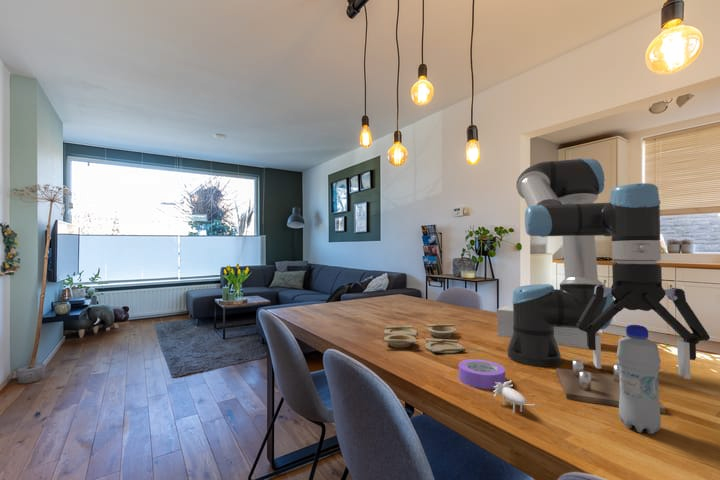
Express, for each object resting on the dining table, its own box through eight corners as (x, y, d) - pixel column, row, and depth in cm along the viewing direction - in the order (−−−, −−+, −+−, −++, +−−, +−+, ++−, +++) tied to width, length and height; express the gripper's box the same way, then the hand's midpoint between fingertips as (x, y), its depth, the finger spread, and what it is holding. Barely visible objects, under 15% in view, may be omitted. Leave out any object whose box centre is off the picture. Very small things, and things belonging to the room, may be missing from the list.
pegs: (580, 390, 80) (580, 373, 80) (571, 373, 90) (571, 359, 90) (640, 398, 75) (639, 380, 75) (623, 380, 86) (623, 364, 86)
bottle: (609, 419, 69) (607, 321, 69) (639, 418, 69) (637, 321, 70) (639, 438, 62) (636, 329, 62) (672, 436, 62) (669, 328, 63)
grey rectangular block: (497, 336, 135) (497, 309, 135) (503, 330, 143) (503, 305, 144) (594, 350, 116) (593, 319, 116) (594, 343, 125) (594, 314, 125)
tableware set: (385, 329, 148) (385, 320, 148) (453, 331, 144) (453, 321, 144) (379, 353, 113) (379, 341, 113) (468, 357, 109) (468, 345, 109)
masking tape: (512, 380, 90) (512, 366, 90) (494, 394, 81) (493, 378, 81) (471, 369, 98) (470, 356, 98) (450, 380, 89) (450, 366, 90)
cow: (488, 399, 78) (488, 379, 78) (508, 397, 79) (508, 377, 79) (524, 426, 66) (524, 401, 66) (547, 423, 67) (547, 399, 67)
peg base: (566, 398, 78) (566, 393, 78) (556, 372, 95) (556, 368, 95) (665, 413, 71) (665, 408, 71) (635, 382, 87) (635, 377, 88)
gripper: (565, 262, 68) (568, 368, 67) (733, 264, 58) (738, 388, 57) (560, 261, 75) (562, 357, 74) (709, 263, 65) (713, 374, 64)
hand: (639, 371), depth 66 cm, fingers open, 13 cm apart
